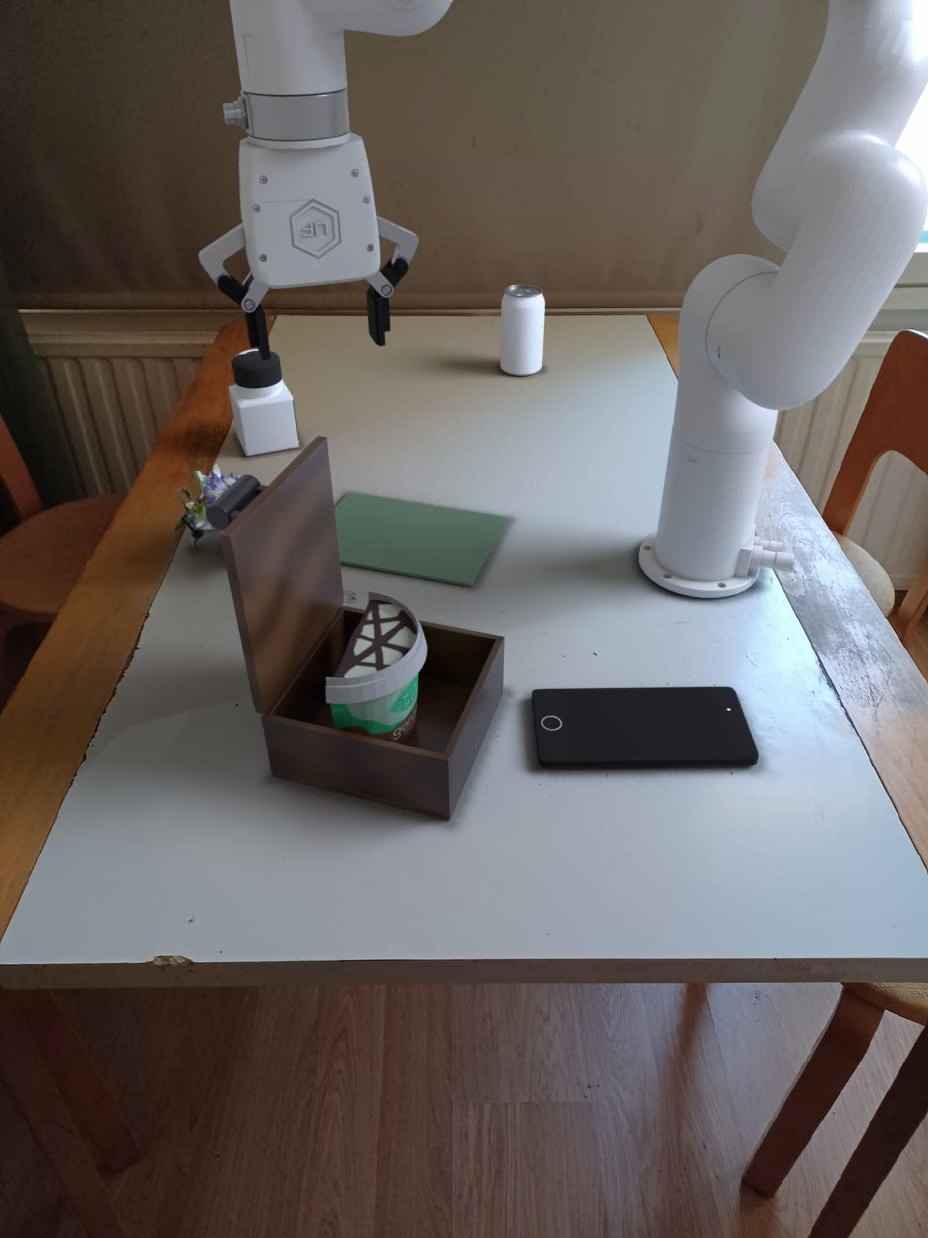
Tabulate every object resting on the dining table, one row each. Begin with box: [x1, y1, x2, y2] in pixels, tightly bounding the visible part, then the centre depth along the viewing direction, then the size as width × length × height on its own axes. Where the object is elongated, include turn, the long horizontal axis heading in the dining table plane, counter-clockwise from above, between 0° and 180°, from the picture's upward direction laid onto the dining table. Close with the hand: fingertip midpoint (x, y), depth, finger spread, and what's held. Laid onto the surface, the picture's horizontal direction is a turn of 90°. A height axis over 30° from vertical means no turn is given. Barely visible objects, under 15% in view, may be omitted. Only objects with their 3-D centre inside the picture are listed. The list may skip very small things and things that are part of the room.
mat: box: [334, 491, 508, 588], centre depth 102 cm, size 20×14×1 cm
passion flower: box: [174, 464, 242, 550], centre depth 98 cm, size 11×11×12 cm
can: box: [499, 283, 546, 377], centre depth 137 cm, size 6×6×12 cm
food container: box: [326, 590, 427, 745], centre depth 74 cm, size 12×6×10 cm, turn 169°
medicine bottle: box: [228, 348, 300, 457], centre depth 118 cm, size 7×7×12 cm
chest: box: [260, 605, 506, 821], centre depth 75 cm, size 15×15×7 cm
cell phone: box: [531, 686, 760, 769], centre depth 77 cm, size 9×18×1 cm, turn 91°
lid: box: [206, 435, 345, 715], centre depth 71 cm, size 16×15×5 cm
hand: (321, 347), depth 76 cm, fingers open, 9 cm apart
